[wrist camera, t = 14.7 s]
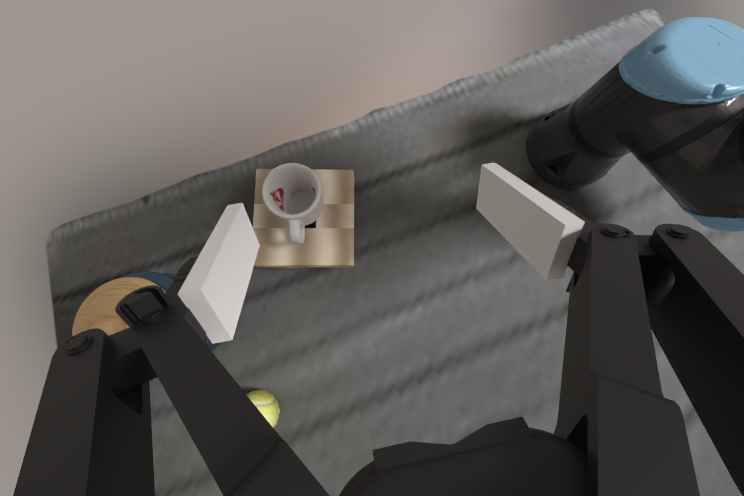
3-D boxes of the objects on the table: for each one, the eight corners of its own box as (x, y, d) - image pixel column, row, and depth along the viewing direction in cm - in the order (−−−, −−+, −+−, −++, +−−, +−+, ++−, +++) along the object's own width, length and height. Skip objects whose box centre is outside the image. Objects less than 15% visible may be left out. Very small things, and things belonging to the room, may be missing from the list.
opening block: (354, 179, 52) (353, 169, 48) (353, 267, 49) (353, 265, 45) (264, 178, 51) (256, 168, 47) (259, 268, 48) (250, 265, 44)
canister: (136, 330, 46) (0, 352, 29) (186, 262, 48) (88, 244, 31) (203, 374, 45) (104, 424, 28) (250, 303, 47) (187, 308, 30)
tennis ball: (227, 399, 39) (221, 453, 38) (278, 396, 40) (274, 449, 39) (239, 384, 45) (235, 431, 44) (283, 383, 46) (280, 428, 45)
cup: (329, 247, 45) (322, 237, 37) (278, 250, 45) (260, 240, 37) (327, 183, 47) (320, 160, 39) (278, 185, 47) (261, 162, 39)
